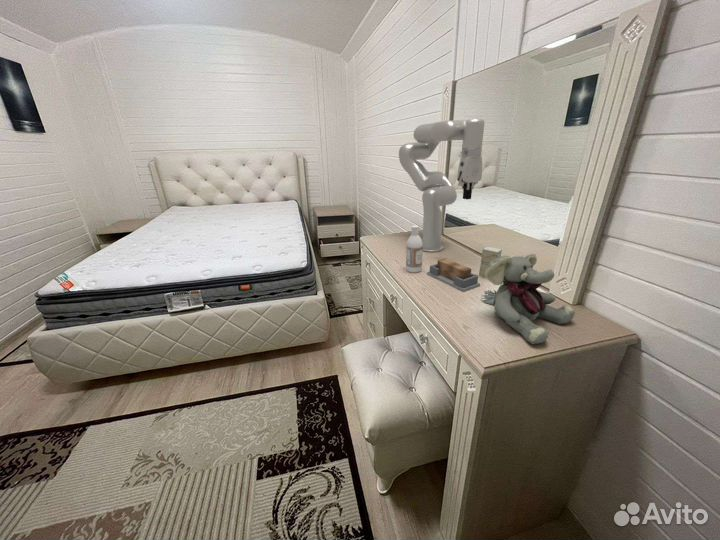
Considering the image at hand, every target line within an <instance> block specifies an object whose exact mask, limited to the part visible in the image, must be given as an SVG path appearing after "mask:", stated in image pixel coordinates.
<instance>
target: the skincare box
mask: <svg viewBox="0 0 720 540" xmlns="http://www.w3.org/2000/svg"><path fill="white" fill-rule="evenodd" d="M502 251H503V250H502V249H501V248H497V247H491V246H485V247H484V248H483V249H482V253H481V258H480V265H479V272H478V277H479V278H480V277H481V278H483V279H487V278H486V277H485V271H486V268H487V267H488V265H489V264H490V263H491V261H493V260H494V259H497V258H500V257H501V255H502Z"/></svg>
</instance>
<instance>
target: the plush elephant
mask: <svg viewBox="0 0 720 540" xmlns="http://www.w3.org/2000/svg"><path fill="white" fill-rule="evenodd" d="M537 260H538V258H537V254H536V253H530V254H527V255H525V256H520V255H519V256H512V257H511V256H509V255H502V256H501V257H500V258H497V259H494V260H493V261H491V263H490V264H489V265H488V267H487V268H486V271H485V277H486V278H485V279H487V281H489V282H490V283H491V284H493V285H496V286H499V287H498V289H497V290H495V289H493V291H494V292H493V291H492V290H490V289H488V290H484V291H483V292H484V294H483V295H482V294H481V296H480V299H481V303H486V304H488V305H490V306H491V305H492V306H494V312H495V314H496V316H497V317H498V318H499V319H501V320H504V321H505V323H506V324H507V325H509V326H510V327H511V328H512V329H514V330H515V331H516V332H517V333H519V334H520V333H521V334H520V335H522V337H523V338H524V339H525V341H526V342H528V343H529V342H530V343H529V344H531V343H534V344H533V345H537V344H542V343H543V342H546V340H548V338H549V331H548V330H547V328H545V327H543V326H541V325H537V324H535V323H534V322H533V321H535V320H536V319H537V318H538V319H542V320H545V321H549V322H552V323H554V324H557V325H561V324H562V325H565V324H567V323H569V322H571V321H572V320H573V319H574V318H575V314H576V312H575V311H574V309H573V308H572V307H570V306H569V305H562V306H561V307H559V308H556V307H553V306H552V305H551V304H553V302H555V301H556V296H555V295H554V294H552V293H548V292H543V291H539V290H537V289H538V288H540V287H541V286H542V284H547V283H549V282H551V281H552V280H554V278H555V272H554V271H553V270H552V269H546V270H543V271H540V272H539V271H537V270H536V269H534V266H535V265H536V264H537V262H538V261H537Z"/></svg>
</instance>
